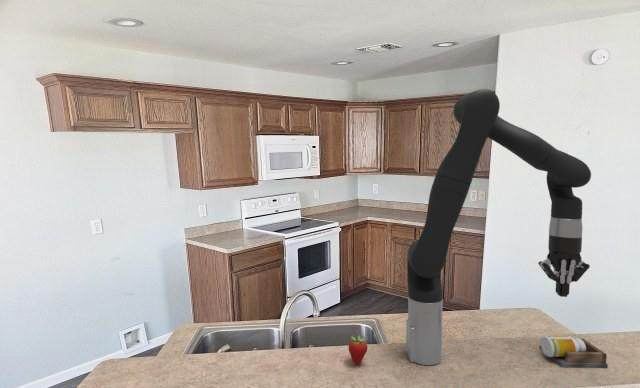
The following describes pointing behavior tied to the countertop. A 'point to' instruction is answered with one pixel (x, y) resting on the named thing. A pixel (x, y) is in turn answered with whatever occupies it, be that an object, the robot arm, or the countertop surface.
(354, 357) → the fruit
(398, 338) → the countertop surface
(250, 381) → the countertop surface
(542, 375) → the countertop surface
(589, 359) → the u rest
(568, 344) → the supplement bottle
